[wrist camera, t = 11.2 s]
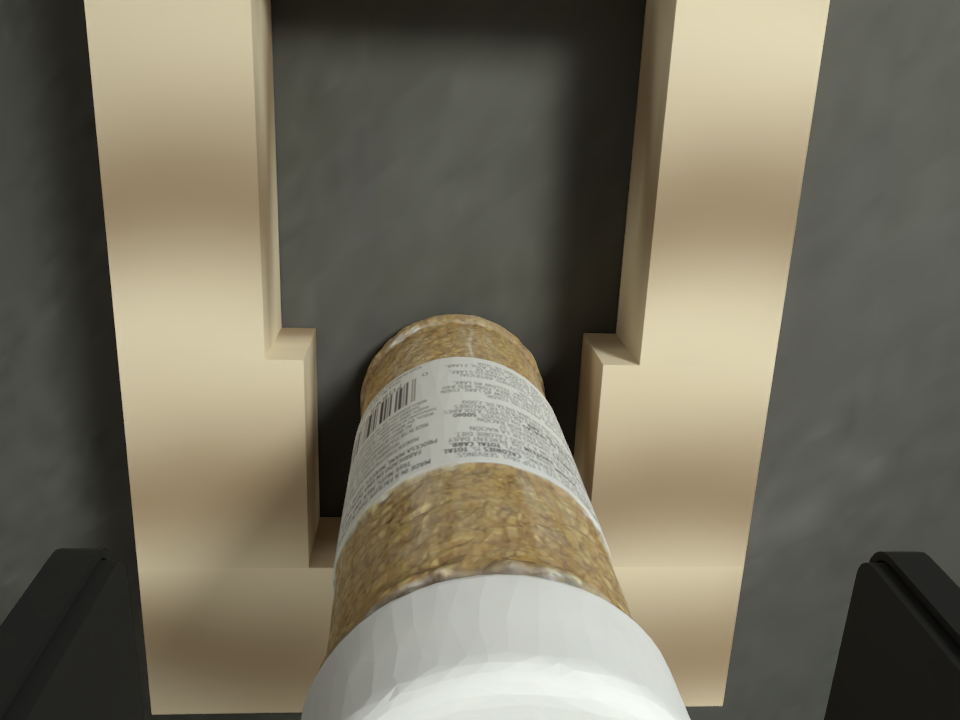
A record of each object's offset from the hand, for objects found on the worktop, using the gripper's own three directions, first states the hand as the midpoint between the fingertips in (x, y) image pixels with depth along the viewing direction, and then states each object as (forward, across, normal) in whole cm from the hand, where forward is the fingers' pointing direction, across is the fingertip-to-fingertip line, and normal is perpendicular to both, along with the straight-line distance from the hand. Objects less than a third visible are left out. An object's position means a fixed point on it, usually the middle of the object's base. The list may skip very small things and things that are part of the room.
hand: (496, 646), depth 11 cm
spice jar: (+11, 0, +1) cm, 11 cm away
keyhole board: (+11, 0, -2) cm, 11 cm away
